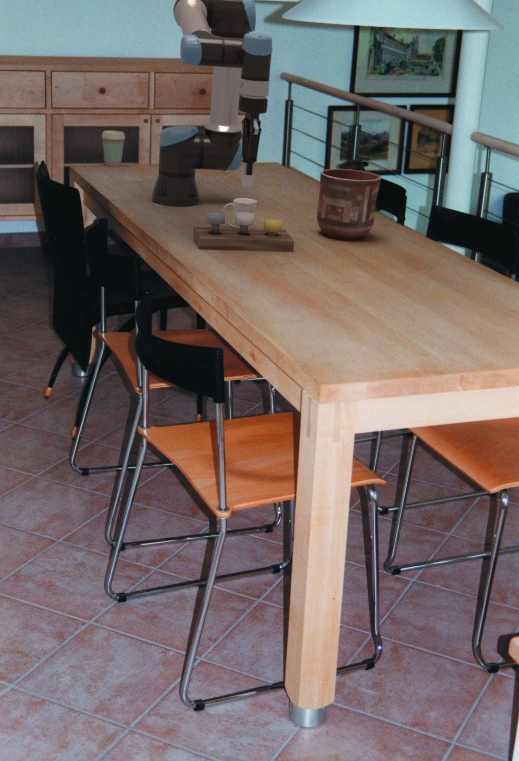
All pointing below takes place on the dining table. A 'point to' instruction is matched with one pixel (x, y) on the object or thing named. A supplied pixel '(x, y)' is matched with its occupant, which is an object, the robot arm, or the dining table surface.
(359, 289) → the dining table surface
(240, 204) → the cup
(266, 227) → the mustard button
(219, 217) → the slate button
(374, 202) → the pottery
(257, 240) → the panel
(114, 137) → the coffee cup
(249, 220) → the cream button
